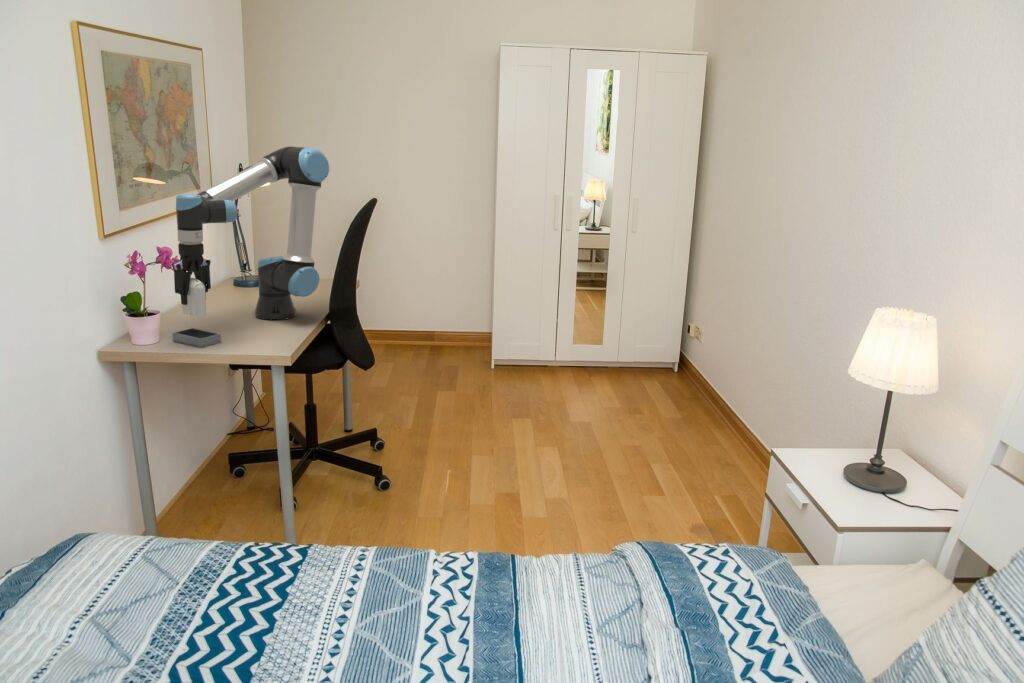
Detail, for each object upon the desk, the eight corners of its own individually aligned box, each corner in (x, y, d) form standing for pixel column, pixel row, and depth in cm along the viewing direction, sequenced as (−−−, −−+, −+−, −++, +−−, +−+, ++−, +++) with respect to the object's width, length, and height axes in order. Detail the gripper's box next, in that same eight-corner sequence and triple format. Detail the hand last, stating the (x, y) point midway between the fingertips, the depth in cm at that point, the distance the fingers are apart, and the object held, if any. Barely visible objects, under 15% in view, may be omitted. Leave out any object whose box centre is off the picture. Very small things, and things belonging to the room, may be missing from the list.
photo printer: (180, 312, 245) (178, 276, 242) (193, 311, 249) (191, 275, 245) (195, 318, 239) (194, 281, 236) (208, 317, 242) (206, 280, 239)
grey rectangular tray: (192, 336, 253) (192, 327, 252) (221, 342, 248) (220, 333, 247) (172, 341, 246) (172, 332, 245) (201, 348, 241) (201, 339, 240)
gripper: (175, 246, 228) (179, 319, 234) (221, 241, 244) (223, 309, 250) (158, 243, 231) (163, 315, 237) (204, 239, 247) (207, 306, 253)
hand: (194, 312), depth 244 cm, fingers closed on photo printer, 5 cm apart
